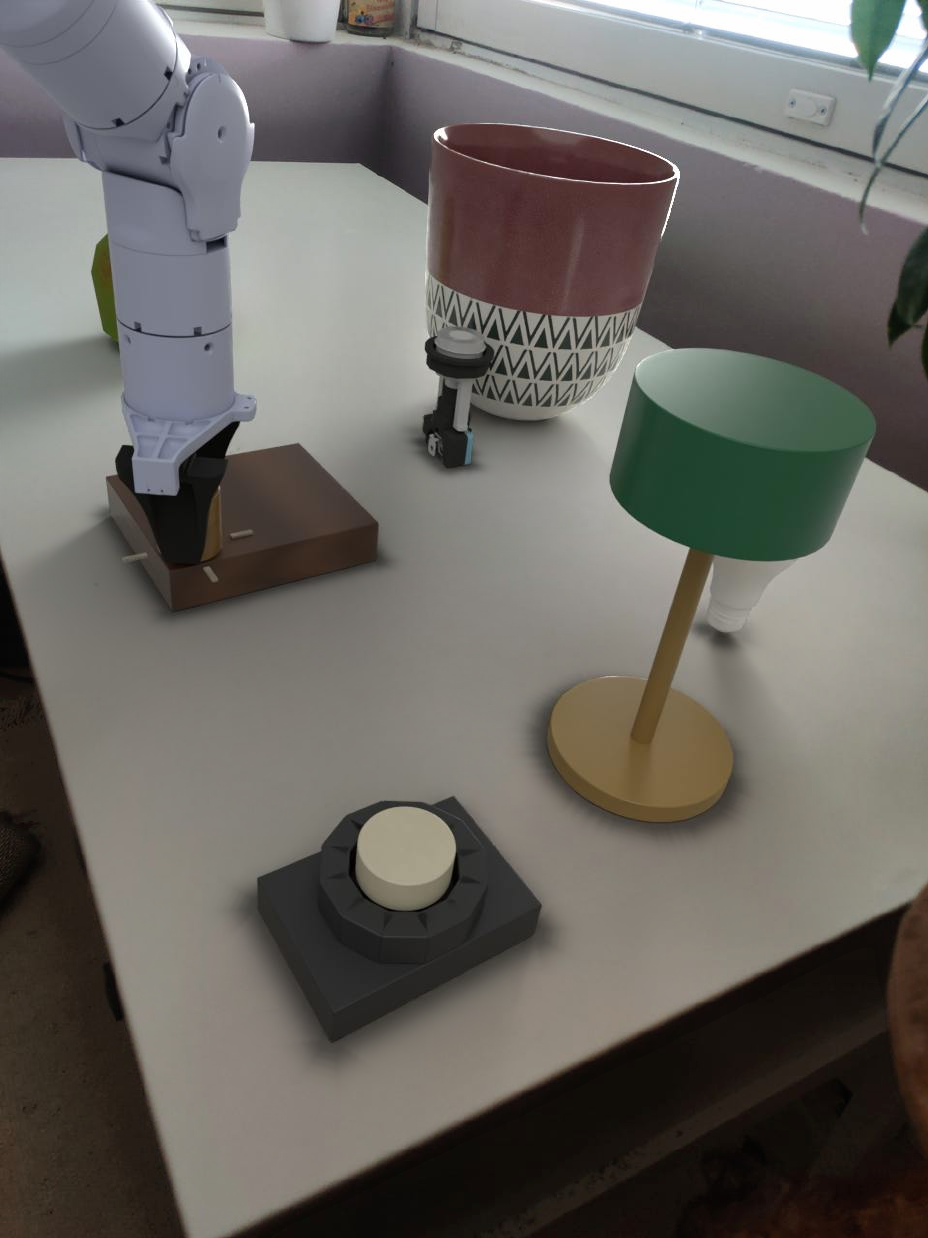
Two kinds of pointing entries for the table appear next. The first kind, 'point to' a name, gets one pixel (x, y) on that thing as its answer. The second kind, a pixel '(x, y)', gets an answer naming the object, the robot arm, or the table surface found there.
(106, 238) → the apple
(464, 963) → the switch block
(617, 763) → the desk lamp
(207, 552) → the dimmer knob
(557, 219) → the planter
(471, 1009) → the table surface
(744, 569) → the lightbulb
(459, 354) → the push button
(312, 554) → the dimmer panel
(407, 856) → the button
